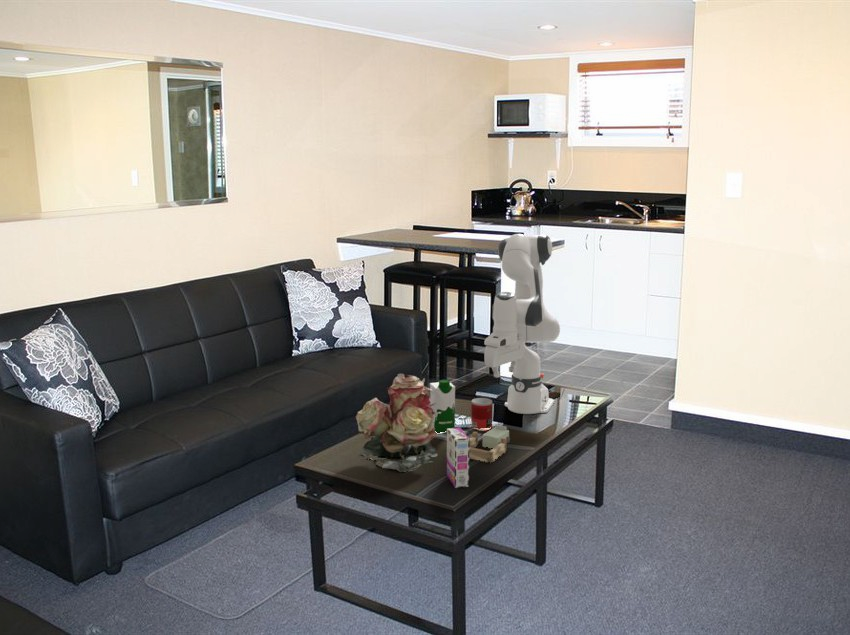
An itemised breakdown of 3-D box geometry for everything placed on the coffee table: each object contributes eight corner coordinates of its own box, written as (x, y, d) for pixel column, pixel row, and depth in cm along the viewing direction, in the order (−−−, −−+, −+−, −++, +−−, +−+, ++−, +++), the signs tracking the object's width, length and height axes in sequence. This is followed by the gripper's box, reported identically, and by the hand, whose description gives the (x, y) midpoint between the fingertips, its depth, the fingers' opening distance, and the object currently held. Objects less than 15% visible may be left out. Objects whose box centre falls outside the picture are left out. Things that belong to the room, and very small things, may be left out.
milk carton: (435, 435, 304) (435, 384, 299) (428, 427, 312) (427, 377, 308) (457, 432, 306) (457, 381, 302) (449, 424, 315) (449, 375, 310)
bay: (474, 444, 294) (474, 431, 293) (506, 451, 287) (506, 438, 286) (457, 455, 284) (457, 442, 283) (491, 463, 277) (491, 449, 276)
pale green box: (492, 438, 300) (492, 424, 299) (510, 442, 296) (510, 427, 295) (481, 446, 292) (481, 431, 291) (499, 450, 289) (499, 435, 287)
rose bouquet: (347, 457, 284) (344, 374, 277) (414, 438, 301) (413, 360, 295) (389, 481, 264) (388, 392, 258) (458, 459, 281) (458, 375, 275)
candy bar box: (470, 487, 258) (470, 438, 255) (455, 488, 257) (454, 440, 254) (460, 473, 269) (460, 426, 266) (446, 475, 268) (445, 427, 264)
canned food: (491, 432, 306) (491, 404, 304) (469, 431, 308) (469, 403, 305) (493, 425, 313) (493, 398, 311) (472, 424, 315) (472, 397, 312)
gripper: (514, 331, 305) (513, 367, 307) (481, 341, 289) (481, 378, 292) (528, 333, 301) (527, 370, 303) (495, 343, 285) (495, 381, 288)
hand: (504, 374), depth 298 cm, fingers open, 8 cm apart
